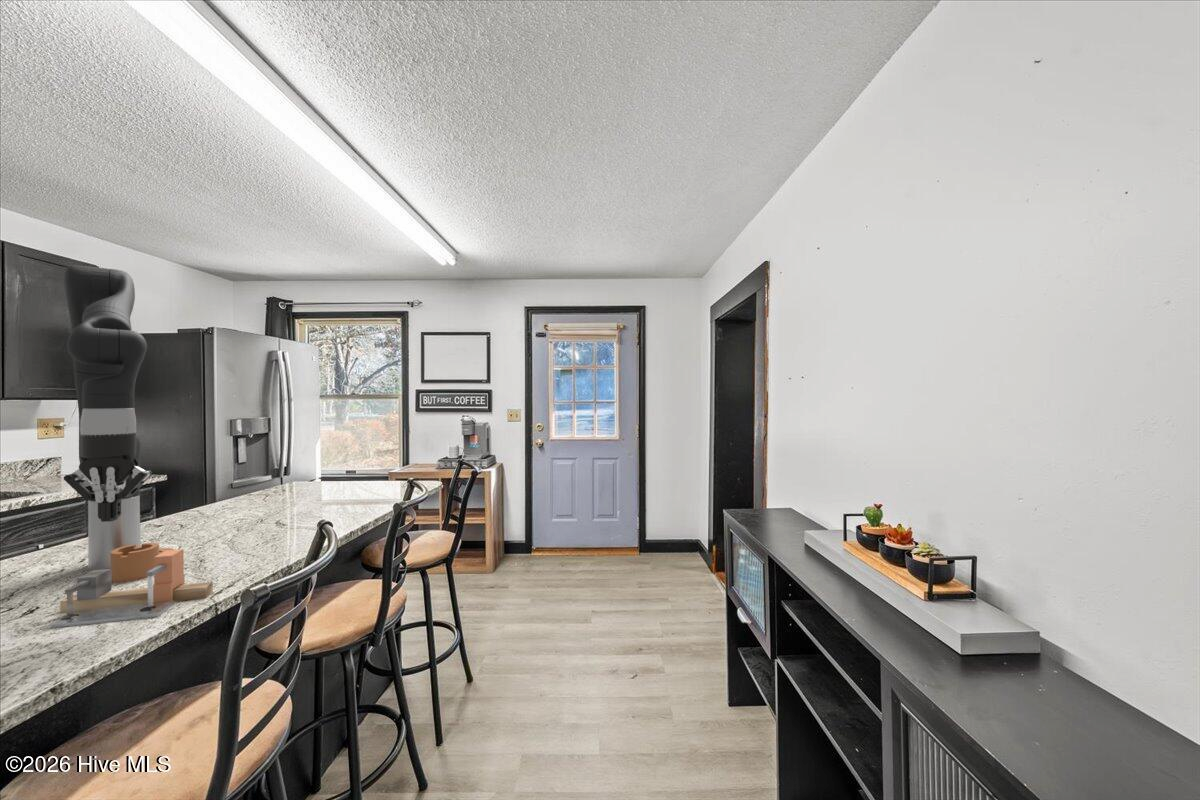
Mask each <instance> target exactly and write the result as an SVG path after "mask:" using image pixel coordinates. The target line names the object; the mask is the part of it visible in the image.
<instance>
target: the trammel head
mask: <svg viewBox="0 0 1200 800" xmlns="http://www.w3.org/2000/svg"><path fill="white" fill-rule="evenodd" d="M184 571H185V570H184V549H183V548H179V549H174V550H166V551H165V552H163V553H161V554H159V555H157V556H155V557H154V568H153V569H151V570H149V571H148V572H146V576H148V577H147V588H148V607H151V606H153V603H157V602H167V601H173V589H174V588H176V587H177V586H179V585H185V584H186V583H185V581H186V579H185V575H186V574H185V573H184Z"/></svg>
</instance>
